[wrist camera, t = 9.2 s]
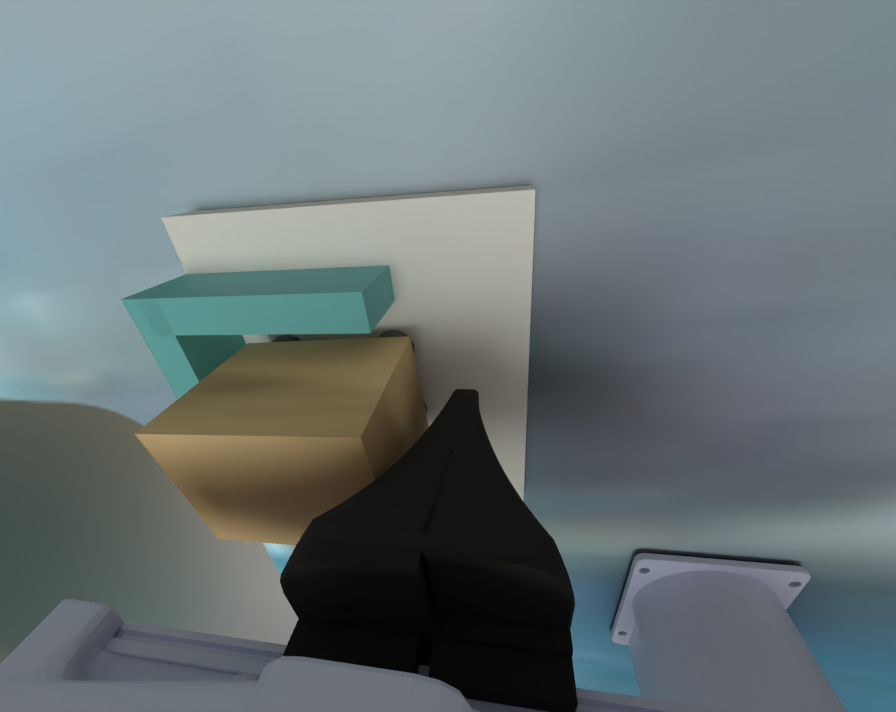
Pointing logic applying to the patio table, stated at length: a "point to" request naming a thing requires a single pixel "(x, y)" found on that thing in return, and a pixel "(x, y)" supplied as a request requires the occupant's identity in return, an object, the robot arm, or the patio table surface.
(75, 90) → the patio table surface
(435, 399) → the dock
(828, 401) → the patio table surface
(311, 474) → the cardboard box
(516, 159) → the patio table surface
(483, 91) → the patio table surface
